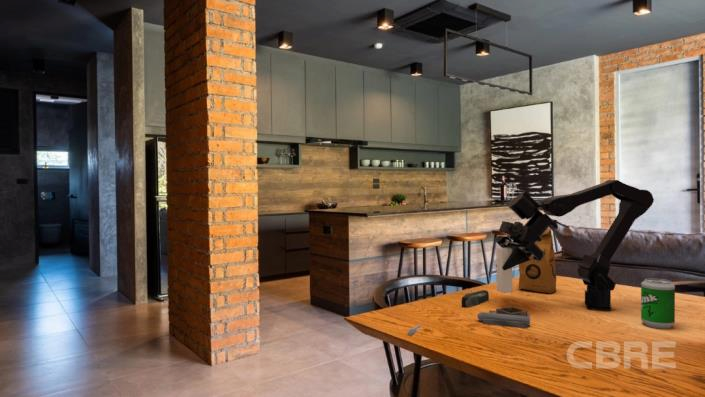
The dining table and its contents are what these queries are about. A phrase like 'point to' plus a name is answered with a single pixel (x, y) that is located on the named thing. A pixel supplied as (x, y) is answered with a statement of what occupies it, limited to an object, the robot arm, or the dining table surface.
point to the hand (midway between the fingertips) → (500, 268)
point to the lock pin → (503, 271)
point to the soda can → (658, 303)
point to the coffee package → (540, 268)
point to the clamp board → (508, 311)
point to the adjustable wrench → (413, 330)
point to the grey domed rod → (504, 317)
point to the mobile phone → (475, 298)
